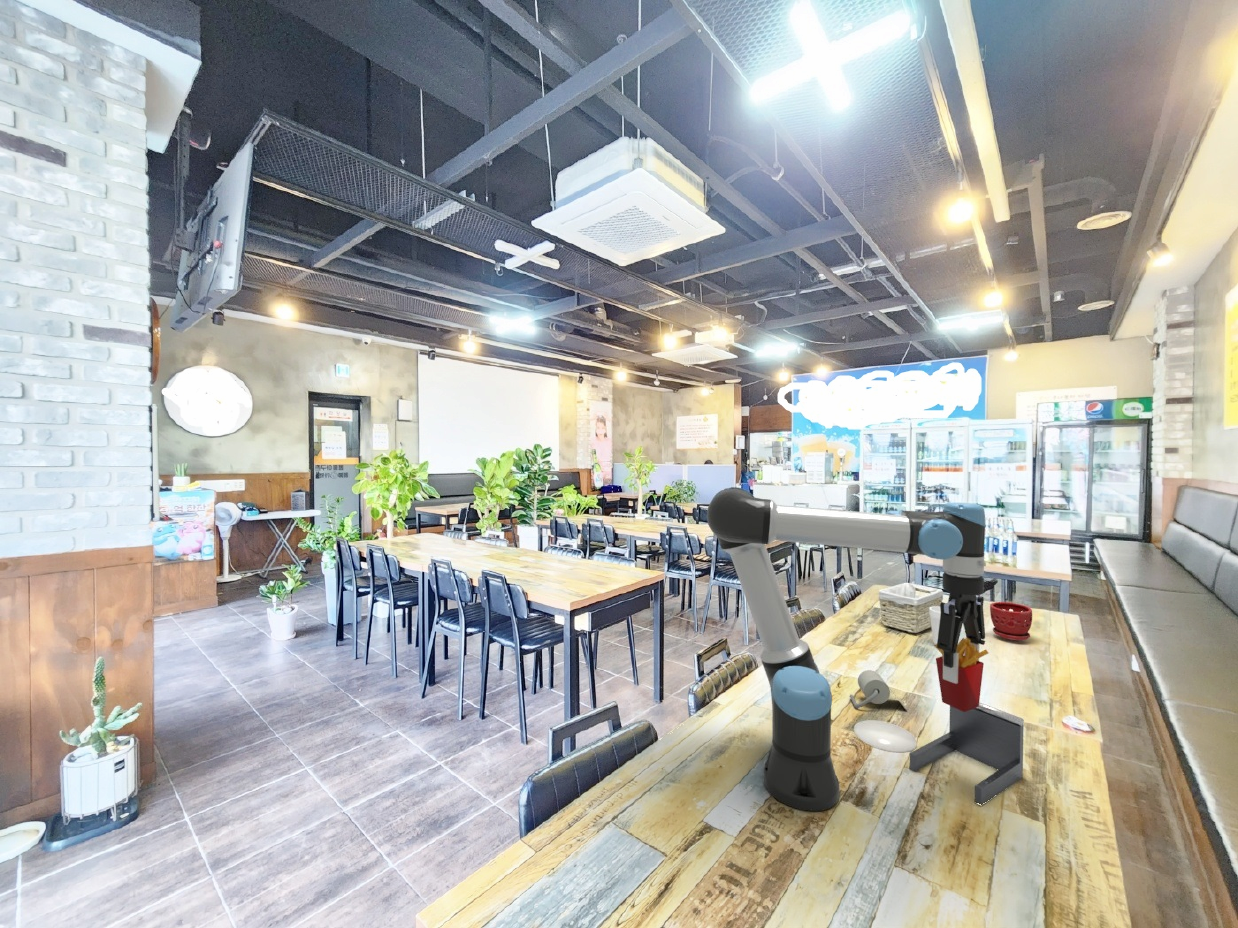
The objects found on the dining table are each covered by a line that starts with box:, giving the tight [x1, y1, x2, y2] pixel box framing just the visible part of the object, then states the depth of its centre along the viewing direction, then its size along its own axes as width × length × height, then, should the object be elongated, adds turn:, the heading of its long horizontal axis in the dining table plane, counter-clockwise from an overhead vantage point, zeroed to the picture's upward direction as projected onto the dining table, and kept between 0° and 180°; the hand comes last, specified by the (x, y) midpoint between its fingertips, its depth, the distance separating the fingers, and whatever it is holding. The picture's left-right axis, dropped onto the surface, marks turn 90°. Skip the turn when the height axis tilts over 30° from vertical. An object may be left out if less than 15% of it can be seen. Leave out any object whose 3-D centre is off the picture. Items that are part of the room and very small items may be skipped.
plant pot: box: [989, 601, 1033, 642], centre depth 200 cm, size 13×13×12 cm
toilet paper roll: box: [849, 669, 906, 709], centre depth 146 cm, size 10×11×12 cm
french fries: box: [933, 637, 989, 712], centre depth 111 cm, size 9×8×15 cm
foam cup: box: [929, 606, 957, 645], centre depth 192 cm, size 10×9×13 cm
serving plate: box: [853, 719, 918, 754], centre depth 129 cm, size 14×14×1 cm
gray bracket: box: [909, 701, 1025, 806], centre depth 114 cm, size 19×14×14 cm
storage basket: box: [878, 582, 944, 634], centre depth 215 cm, size 24×16×15 cm
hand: (961, 676), depth 112 cm, fingers closed on french fries, 8 cm apart
